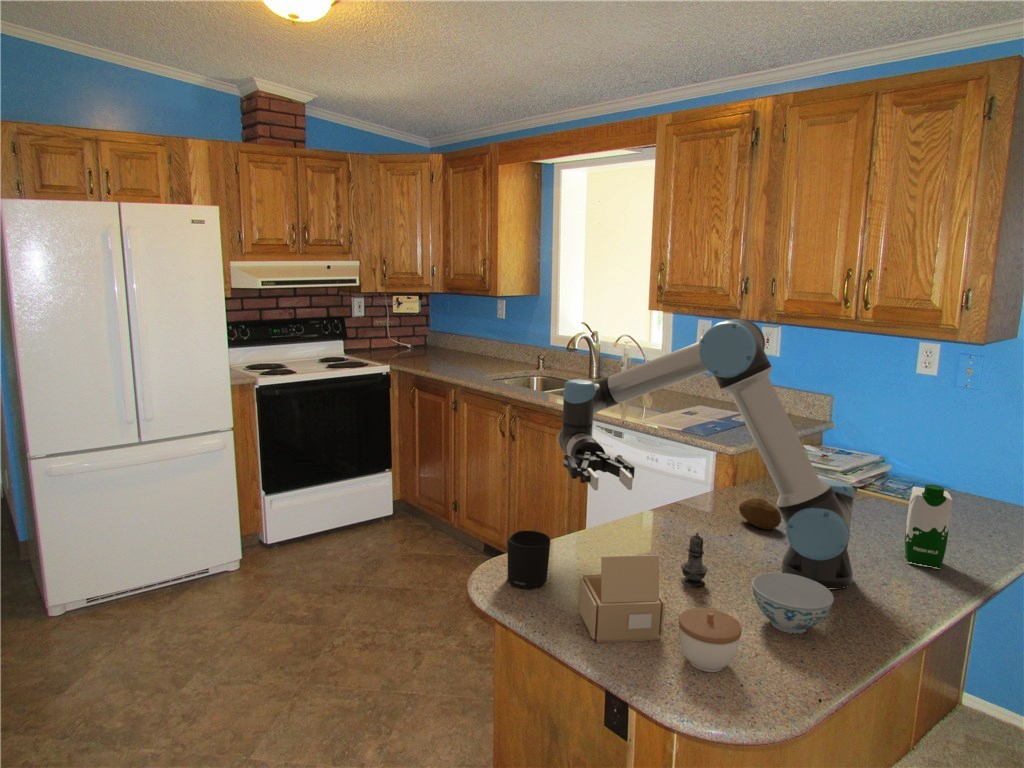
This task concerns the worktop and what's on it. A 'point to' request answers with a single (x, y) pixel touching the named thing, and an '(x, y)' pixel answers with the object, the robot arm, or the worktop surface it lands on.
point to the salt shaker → (694, 564)
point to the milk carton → (928, 525)
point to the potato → (760, 513)
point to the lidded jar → (709, 638)
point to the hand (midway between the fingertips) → (613, 483)
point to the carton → (618, 615)
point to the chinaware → (791, 601)
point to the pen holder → (528, 559)
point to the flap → (629, 578)
